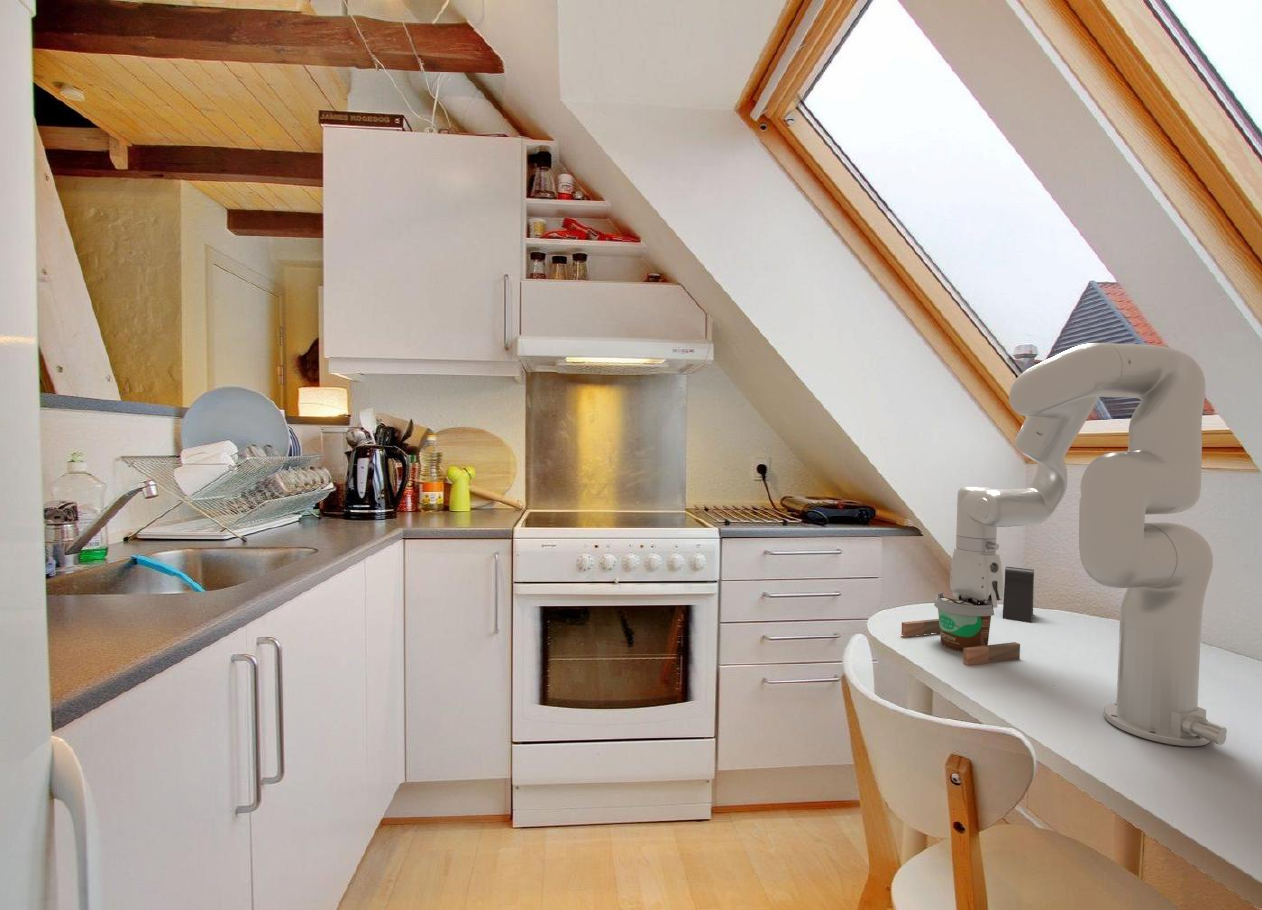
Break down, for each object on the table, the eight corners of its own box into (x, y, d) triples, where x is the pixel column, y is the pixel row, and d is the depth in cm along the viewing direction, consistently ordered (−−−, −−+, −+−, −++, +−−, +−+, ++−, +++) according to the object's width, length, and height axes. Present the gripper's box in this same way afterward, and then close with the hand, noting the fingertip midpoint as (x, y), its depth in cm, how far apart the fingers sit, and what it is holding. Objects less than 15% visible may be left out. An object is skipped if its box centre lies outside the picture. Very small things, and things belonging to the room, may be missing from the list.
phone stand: (1005, 610, 161) (1007, 563, 161) (1033, 614, 158) (1034, 566, 157) (1002, 618, 154) (1003, 569, 153) (1031, 622, 150) (1032, 573, 150)
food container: (921, 640, 136) (921, 595, 136) (939, 636, 139) (940, 591, 139) (974, 658, 126) (975, 609, 125) (994, 653, 128) (994, 605, 128)
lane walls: (1019, 658, 126) (1020, 643, 126) (968, 665, 122) (968, 649, 122) (948, 630, 144) (948, 617, 143) (901, 635, 140) (901, 622, 140)
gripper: (1020, 550, 127) (1017, 639, 128) (962, 538, 142) (959, 618, 142) (991, 552, 125) (988, 642, 126) (934, 539, 139) (932, 620, 140)
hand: (973, 629), depth 134 cm, fingers closed
